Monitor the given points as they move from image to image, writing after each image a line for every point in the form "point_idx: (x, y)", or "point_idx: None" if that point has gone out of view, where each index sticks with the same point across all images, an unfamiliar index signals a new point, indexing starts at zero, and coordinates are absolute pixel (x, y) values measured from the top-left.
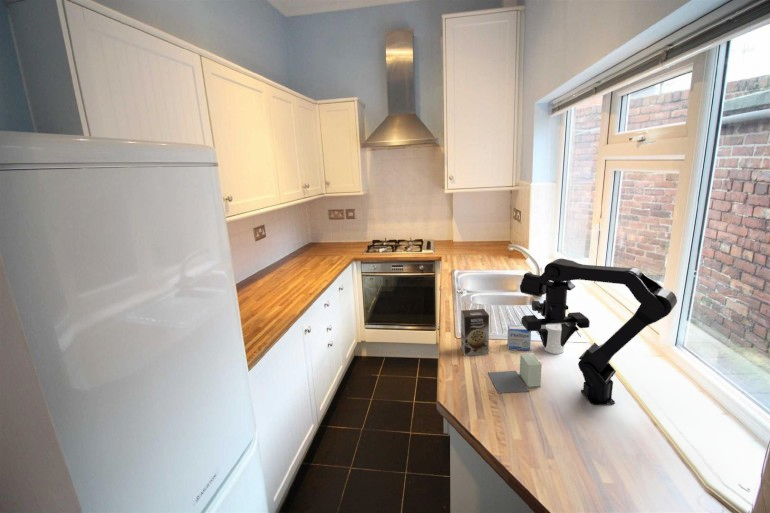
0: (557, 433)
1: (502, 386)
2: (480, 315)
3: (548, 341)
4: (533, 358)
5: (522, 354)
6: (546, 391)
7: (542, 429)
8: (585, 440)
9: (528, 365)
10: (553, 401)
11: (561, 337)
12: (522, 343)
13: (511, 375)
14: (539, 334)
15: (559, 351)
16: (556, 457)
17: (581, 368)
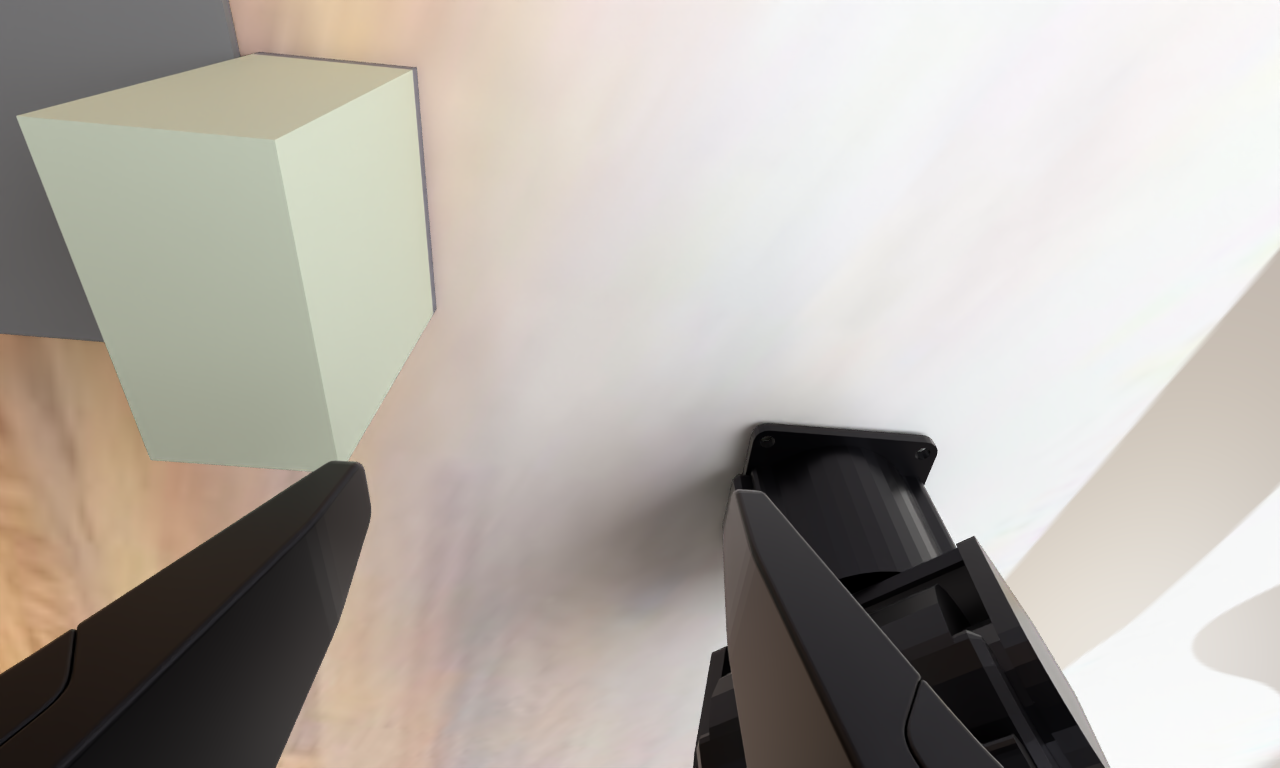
0: (384, 672)
1: (33, 255)
2: None
3: None
4: (255, 315)
5: (60, 159)
6: (466, 372)
7: None
8: (508, 714)
9: (151, 452)
10: (472, 479)
11: (776, 646)
12: None
13: (141, 65)
14: (6, 680)
15: None
16: (329, 754)
17: (696, 765)
